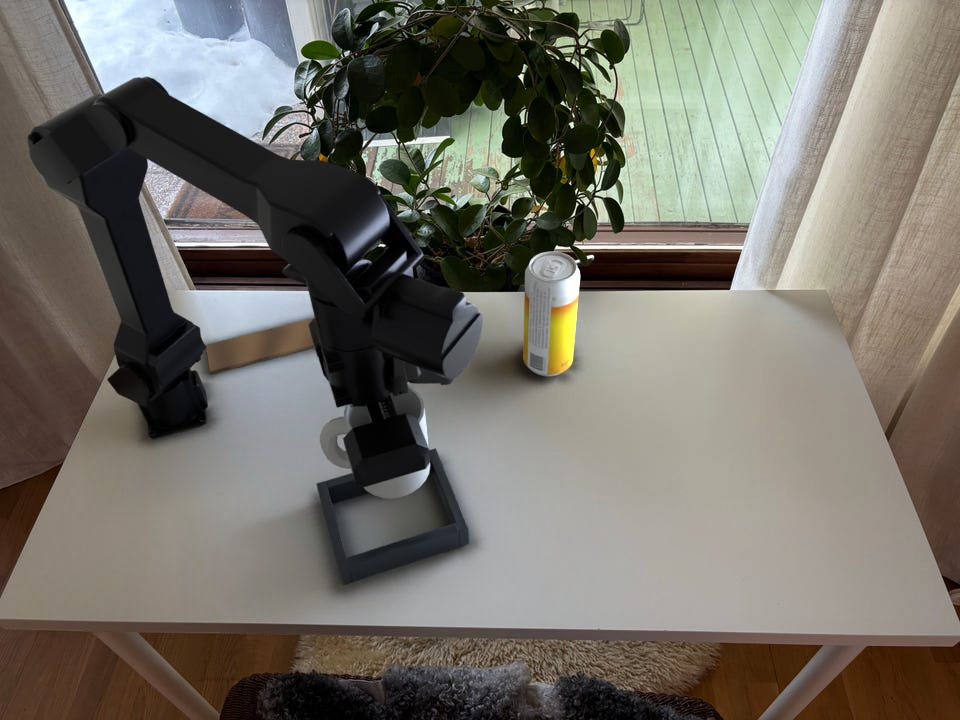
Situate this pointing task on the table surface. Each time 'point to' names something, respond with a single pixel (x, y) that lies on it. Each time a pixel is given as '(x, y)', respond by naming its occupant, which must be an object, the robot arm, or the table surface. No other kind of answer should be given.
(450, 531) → the rectangular frame
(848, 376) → the table surface
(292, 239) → the robot arm
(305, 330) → the cork mat
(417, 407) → the cup
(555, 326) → the beer can
